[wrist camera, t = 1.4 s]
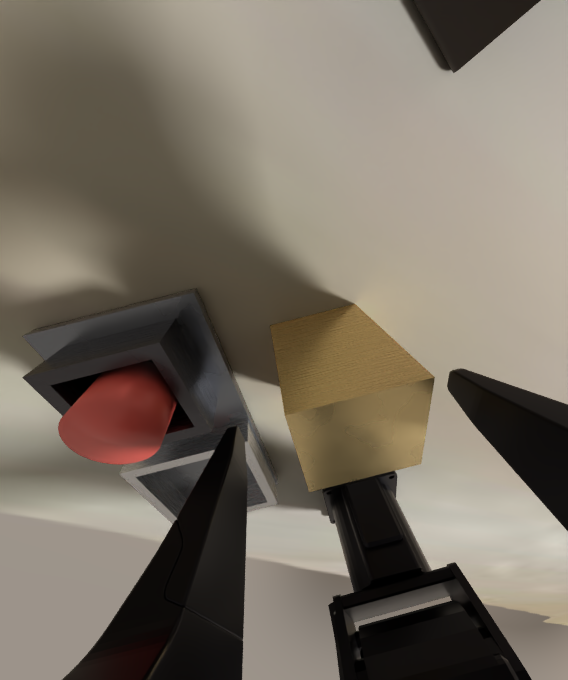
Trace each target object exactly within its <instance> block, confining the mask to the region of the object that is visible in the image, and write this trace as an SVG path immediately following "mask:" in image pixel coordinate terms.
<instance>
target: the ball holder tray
mask: <svg viewBox="0 0 568 680" xmlns="http://www.w3.org/2000/svg"><path fill="white" fill-rule="evenodd" d="M23 337H24V338H25V340H26V341H27V342H28V343H29V344H30V345H31V346H32V347H33V348H34V349H35V350H36V351H37V352H38V353H39V354H40V356H41V357H42V358H43V359H44V360H45V361H44V362H43V363H41V364H40V365H39V366H37V367H36V368H34V369H33V370H32V371H30V372H29V373H28V374H26V375H25V376H24V377H22V378H23V379H24V380H26V381H27V382H28V383H29V384H30V385H31V386H32V387H33V388H34V389H35V390H36V391H37V392H38V393H39V394H40V395H41V396H42V397H43V398H44V399H46V400H47V401H48V402H49V403H50V404H51V405H52V406H53V407H54V408H55V409H56V410H57V411H58V412H59V413H60V414H61V415H62V416H64V414H65V413H66V412H67V411H68V410H69V409H70V408H71V407H72V406H73V404H74V403H75V402H76V401H77V400H78V399H79V398H80V397H81V396H82V394H83V393H84V392H85V391H86V390H87V389H88V388H89V387H90V386H91V384H92V383H93V382H94V381H95V380H96V379H97V378H98V377H99V376H100V374H101V373H102V372H105V371H109V370H113V369H116V368H120V367H124V366H128V365H132V364H136V363H140V362H144V361H149V362H152V363H154V364H155V365H156V367H157V369H158V370H159V372H160V373H161V375H162V376H163V378H164V380H165V381H166V383H167V384H168V386H169V387H170V389H171V390H172V392H173V394H174V395H175V397H176V398H177V400H178V402H177V404H176V407H175V410H174V412H173V415H172V418H171V420H170V423H169V426H168V428H167V431H166V434H165V436H164V439H163V442H162V444H161V447H160V448H159V450H158V451H157V452H156V453H155V454H154V455H153V456H151V457H149V458H148V459H145V460H143V461H140V462H136V463H131V464H124V465H123V467H122V469H121V471H120V473H119V475H121V476H122V477H123V478H124V479H125V480H126V481H127V482H128V483H129V484H130V485H131V486H132V487H133V488H134V489H136V490H137V491H138V492H139V493H140V494H141V495H142V496H143V497H144V498H145V499H146V500H147V501H148V502H150V503H151V504H152V505H153V506H154V507H155V508H156V509H157V510H158V511H159V512H160V513H161V514H162V515H164V516H165V517H166V518H167V519H168V520H169V521H170V522H171V523H172V524H173V523H174V521H175V520H177V516H178V514H179V513H180V511H181V509H182V507H183V506H184V504H185V502H186V500H187V498H188V497H189V495H190V493H191V491H192V490H193V488H194V486H195V484H196V482H197V481H198V479H199V477H200V475H201V474H202V472H203V470H204V468H205V467H206V465H207V463H208V461H209V459H210V458H211V456H212V454H213V452H214V451H215V449H216V447H217V445H218V444H219V442H220V440H221V438H222V436H223V435H224V433H225V431H226V429H227V428H229V427H232V426H238V427H239V429H240V431H241V433H242V435H243V437H244V441H245V452H246V465H247V479H248V491H247V512H248V511H252V510H256V509H260V508H264V507H268V506H272V505H276V504H278V501H277V490H276V485H277V484H278V479H277V475H276V473H275V470H274V468H273V466H272V463H271V461H270V459H269V456H268V454H267V452H266V449H265V447H264V445H263V442H262V440H261V438H260V435H259V433H258V431H257V428H256V426H255V424H254V421H253V419H252V417H251V414H250V412H249V410H248V407H247V405H246V403H245V400H244V398H243V396H242V393H241V391H240V389H239V386H238V384H237V382H236V379H235V377H234V375H233V373H232V370H231V368H230V366H229V363H228V361H227V359H226V356H225V354H224V352H223V349H222V347H221V345H220V342H219V340H218V338H217V335H216V333H215V331H214V328H213V326H212V324H211V321H210V319H209V317H208V314H207V312H206V310H205V307H204V305H203V303H202V300H201V298H200V296H199V293H198V291H197V289H192V290H188V291H184V292H180V293H176V294H172V295H168V296H164V297H161V298H157V299H153V300H149V301H145V302H141V303H137V304H133V305H129V306H125V307H121V308H118V309H114V310H110V311H106V312H102V313H98V314H94V315H90V316H86V317H82V318H78V319H74V320H71V321H67V322H63V323H59V324H55V325H51V326H47V327H43V328H39V329H35V330H33V331H31V332H29V333H27V334H26V335H24V336H23Z"/></svg>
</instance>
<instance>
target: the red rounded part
mask: <svg viewBox="0 0 568 680" xmlns="http://www.w3.org/2000/svg"><path fill="white" fill-rule="evenodd" d="M177 402H178V400H177V398H176V397H175V395H174V394H173V392H172V390H171V389H170V387H169V386H168V384H167V383H166V381H165V380H164V378H163V376H162V375H161V373H160V372H159V370H158V369H157V367H156V365H155V364H154V363H152V362H149V361H144V362H140V363H136V364H132V365H128V366H124V367H120V368H116V369H113V370H109V371H105V372H102V373H101V374H100V376H99V377H98V378H97V379H96V380H95V381H94V382H93V383H92V384H91V386H90V387H89V388H88V389H87V390H86V391H85V392H84V393H83V394H82V396H81V397H80V398H79V399H78V400H77V401H76V402H75V403H74V404H73V406H72V407H71V408H70V409H69V410H68V411H67V412H66V413H65V414H64V416H63V417H62V418H61V420H60V422H59V426H58V431H59V435H60V437H61V439H62V441H63V442H64V443H65V444H66V445H67V446H68V447H69V448H70V449H71V450H73V451H74V452H76V453H77V454H79V455H81V456H83V457H85V458H88V459H90V460H94V461H97V462H101V463H107V464H131V463H136V462H140V461H143V460H145V459H148V458H149V457H151V456H153V455H154V454H155V453H156V452H157V451H158V450H159V448H160V447H161V444H162V442H163V439H164V436H165V434H166V431H167V428H168V426H169V423H170V420H171V418H172V415H173V412H174V410H175V407H176V404H177Z"/></svg>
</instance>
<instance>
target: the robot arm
mask: <svg viewBox="0 0 568 680" xmlns="http://www.w3.org/2000/svg"><path fill="white" fill-rule="evenodd" d="M447 387H448V390H449V392H450V393H451V394H452V396H453V397H454V399H455V400H456V401H457V403H458V404H459V405H460V407H461V408H462V410H463V411H464V412H465V414H466V415H467V416H468V418H469V419H470V420H471V422H472V423H473V424H474V425H475V427H476V428H477V429H478V430H479V431H480V432H481V433H482V435H483V436H484V437H485V438H486V439H487V440H488V441H489V443H490V444H491V445H492V446H493V447H494V448H495V449H496V450H497V452H498V453H499V454H500V455H501V456H502V457H503V458H504V459H505V461H506V462H507V463H508V464H509V465H510V466H511V467H512V469H513V470H514V471H515V472H516V473H517V474H518V475H519V476H520V478H521V479H522V480H523V481H524V482H525V483H526V484H527V486H528V487H529V488H530V489H531V490H532V491H533V492H534V493H535V495H536V496H537V497H538V498H539V499H540V500H541V501H542V503H543V504H544V505H545V506H546V507H547V508H548V509H549V510H550V512H551V513H552V514H553V515H554V516H555V517H556V518H557V519H558V521H559V522H560V523H561V524H562V525H563V526H564V527H565V529H566V530H567V531H568V405H567V404H564V403H562V402H559V401H556V400H553V399H550V398H547V397H544V396H541V395H538V394H535V393H532V392H529V391H527V390H524V389H521V388H518V387H515V386H512V385H509V384H506V383H503V382H500V381H497V380H495V379H492V378H489V377H486V376H483V375H480V374H477V373H474V372H471V371H468V370H465V369H456V370H452V371H451V372H450V374H449V379H448V384H447ZM396 486H397V474H396V472H395V471H391V472H387V473H383V474H379V475H375V476H371V477H367V478H363V479H359V480H356V481H352V482H348V483H344V484H340V485H336V486H332V487H328V488H324V489H322V491H323V495H324V499H325V503H326V506H327V510H328V514H329V518H330V522H331V523H332V524H335V523H336V527H337V531H338V534H339V538H340V542H341V545H342V549H343V553H344V557H345V560H346V564H347V568H348V572H349V575H350V579H351V583H352V586H353V590H354V593H350V594H347V595H343V596H341V595H336V596H333V601H334V602H333V603H331V604H329V605H328V606H329V610H330V616H331V621H332V625H333V631H334V637H335V643H336V650H337V658H338V667H339V675H340V680H531V678H530V676H529V674H528V673H527V671H526V670H525V668H524V666H523V665H522V663H521V662H520V660H519V658H518V657H517V655H516V654H515V652H514V651H513V649H512V648H511V646H510V645H509V643H508V642H507V640H506V638H505V637H504V635H503V634H502V632H501V631H500V630H499V628H498V626H497V625H496V623H495V622H494V620H493V619H492V617H491V616H490V614H489V613H488V611H487V610H486V608H485V607H484V605H483V604H482V602H481V600H480V599H479V597H478V596H477V594H476V593H475V591H474V590H473V588H472V587H471V585H470V584H469V582H468V581H467V579H466V578H465V576H464V575H463V573H462V572H461V570H460V569H459V567H458V566H457V564H456V563H455V562H454V563H450V564H447V567H443V568H440V569H436V570H433V571H432V570H431V568H430V566H429V564H428V562H427V560H426V558H425V556H424V554H423V552H422V550H421V548H420V546H419V544H418V542H417V540H416V538H415V536H414V534H413V532H412V530H411V528H410V526H409V524H408V522H407V520H406V518H405V516H404V514H403V512H402V510H401V508H400V506H399V504H398V502H397V500H396ZM247 491H248V479H247V465H246V452H245V441H244V437H243V435H242V433H241V431H240V429H239V427H238V426H232V427H229V428H227V429H226V431H225V433H224V435H223V436H222V438H221V440H220V442H219V444H218V445H217V447H216V449H215V451H214V452H213V454H212V456H211V458H210V459H209V461H208V463H207V465H206V467H205V468H204V470H203V472H202V474H201V475H200V477H199V479H198V481H197V482H196V484H195V486H194V488H193V490H192V491H191V493H190V495H189V497H188V498H187V500H186V502H185V504H184V506H183V507H182V509H181V511H180V513H179V514H178V516H177V520H175V521H174V523H173V525H172V527H171V528H170V530H169V532H168V534H167V535H166V537H165V539H164V540H163V542H162V544H161V545H160V547H159V549H158V551H157V552H156V554H155V555H154V557H153V559H152V560H151V562H150V563H149V565H148V566H147V568H146V569H145V571H144V573H143V574H142V576H141V577H140V579H139V580H138V582H137V583H136V585H135V586H134V588H133V589H132V591H131V593H130V594H129V595H128V597H127V598H126V600H125V601H124V603H123V604H122V606H121V608H120V609H119V611H118V612H117V614H116V615H115V617H114V618H113V620H112V621H111V623H110V624H109V626H108V627H107V629H106V630H105V632H104V633H103V635H102V636H101V637H100V638H99V640H98V641H97V642H96V644H95V645H94V646H93V648H92V649H91V650H90V651H89V652H88V654H87V655H86V656H85V657H84V658H83V659H82V660H81V661H80V663H79V664H78V665H77V666H76V667H75V668H74V669H73V670H72V671H71V672H70V673H69V674H68V675H66V676H65V677H64V678H63V680H242V659H243V623H244V590H245V557H246V524H247ZM449 596H450V598H451V600H452V601H450V602H446V603H442V604H438V605H435V606H431V607H427V608H424V609H420V610H416V611H413V612H409V613H406V614H402V615H398V616H394V617H391V618H387V619H383V620H380V621H376V622H372V623H369V624H365V625H361V626H359V631H356V628H355V625H354V622H357V621H361V620H364V619H368V618H372V617H375V616H379V615H382V614H386V613H390V612H393V611H397V610H400V609H404V608H408V607H412V606H416V605H419V604H423V603H426V602H430V601H433V600H438V599H441V598H445V597H449Z"/></svg>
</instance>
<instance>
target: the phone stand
mask: <svg viewBox="0 0 568 680" xmlns="http://www.w3.org/2000/svg"><path fill="white" fill-rule="evenodd" d="M413 1H414V3H415V4H416V6H417V8H418V10H419V12H420V14H421V15H422V17H423V19H424V21H425V23H426V24H427V26H428V28H429V30H430V32H431V33H432V35H433V37H434V39H435V41H436V43H437V44H438V46H439V48H440V50H441V52H442V53H443V55H444V57H445V59H446V61H447V62H448V64H449V66H450V68H451V70H452V72H453V73H454V72H456V71H458V70H459V69H460V68H461V67H462V66H464V65H465V64H466V63H467V62H468V61H470V60H471V59H472V58H473V57H474V56H475V55H477V54H478V53H479V52H480V51H481V50H483V49H484V48H485V47H486V46H487V45H488V44H490V43H491V42H492V41H493V40H494V39H496V38H497V37H498V36H499V35H500V34H501V33H503V32H504V31H505V30H506V29H507V28H508V27H510V26H511V25H512V24H513V23H514V22H516V21H517V20H518V19H519V18H520V17H521V16H523V15H524V14H525V13H526V12H527V11H529V10H530V9H531V8H532V7H533V6H534V5H536V4H537V3H538V2H539V1H540V0H413Z"/></svg>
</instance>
